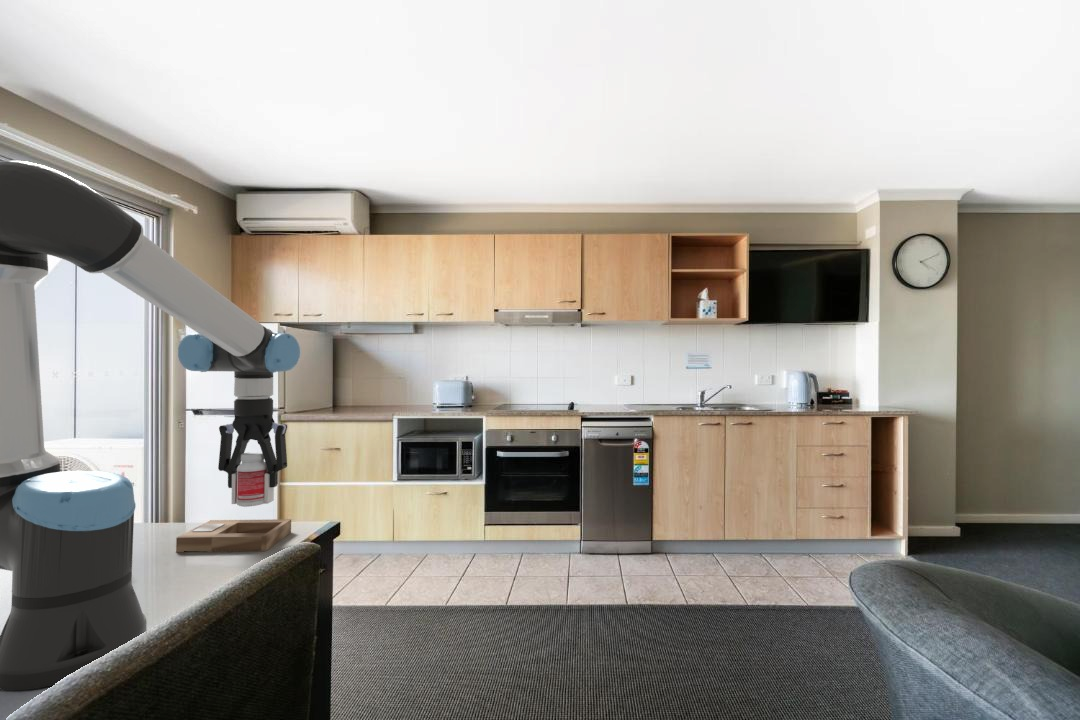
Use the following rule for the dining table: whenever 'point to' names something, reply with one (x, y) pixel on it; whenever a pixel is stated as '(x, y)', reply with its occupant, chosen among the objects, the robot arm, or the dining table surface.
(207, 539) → the socket block
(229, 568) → the dining table surface
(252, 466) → the pill bottle
